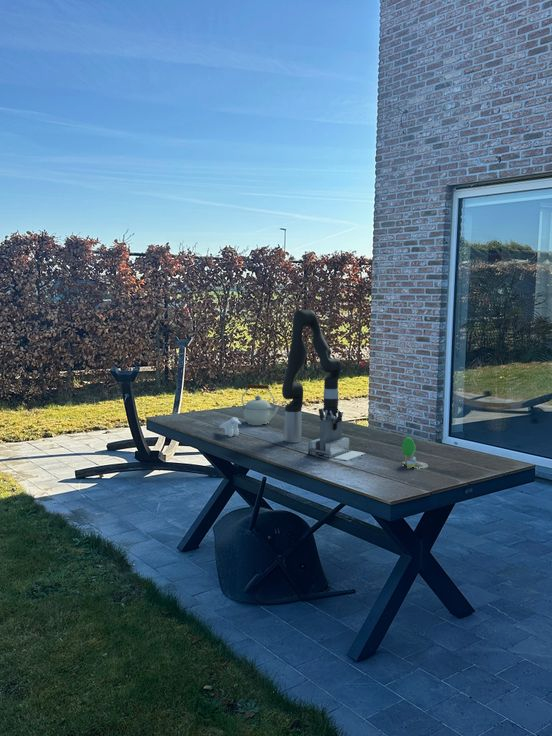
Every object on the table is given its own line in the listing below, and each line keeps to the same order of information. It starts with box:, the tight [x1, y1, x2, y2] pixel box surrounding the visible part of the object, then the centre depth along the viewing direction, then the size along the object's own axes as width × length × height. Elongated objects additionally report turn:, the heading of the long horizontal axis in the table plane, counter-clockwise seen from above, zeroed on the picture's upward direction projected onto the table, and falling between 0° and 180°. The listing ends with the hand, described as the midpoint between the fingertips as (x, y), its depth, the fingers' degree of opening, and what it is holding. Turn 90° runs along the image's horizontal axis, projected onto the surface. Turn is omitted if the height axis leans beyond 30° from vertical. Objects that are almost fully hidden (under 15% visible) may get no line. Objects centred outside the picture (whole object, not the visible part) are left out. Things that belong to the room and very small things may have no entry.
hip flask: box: [319, 415, 343, 457], centre depth 325 cm, size 16×4×20 cm, turn 135°
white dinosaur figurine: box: [218, 416, 242, 438], centre depth 367 cm, size 7×24×11 cm, turn 39°
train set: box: [401, 436, 429, 470], centre depth 303 cm, size 15×14×14 cm
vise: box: [307, 436, 350, 459], centre depth 326 cm, size 14×19×7 cm
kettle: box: [241, 384, 280, 426], centre depth 401 cm, size 25×18×25 cm
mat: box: [333, 450, 367, 462], centre depth 319 cm, size 8×18×1 cm, turn 142°
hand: (330, 429), depth 325 cm, fingers open, 5 cm apart
